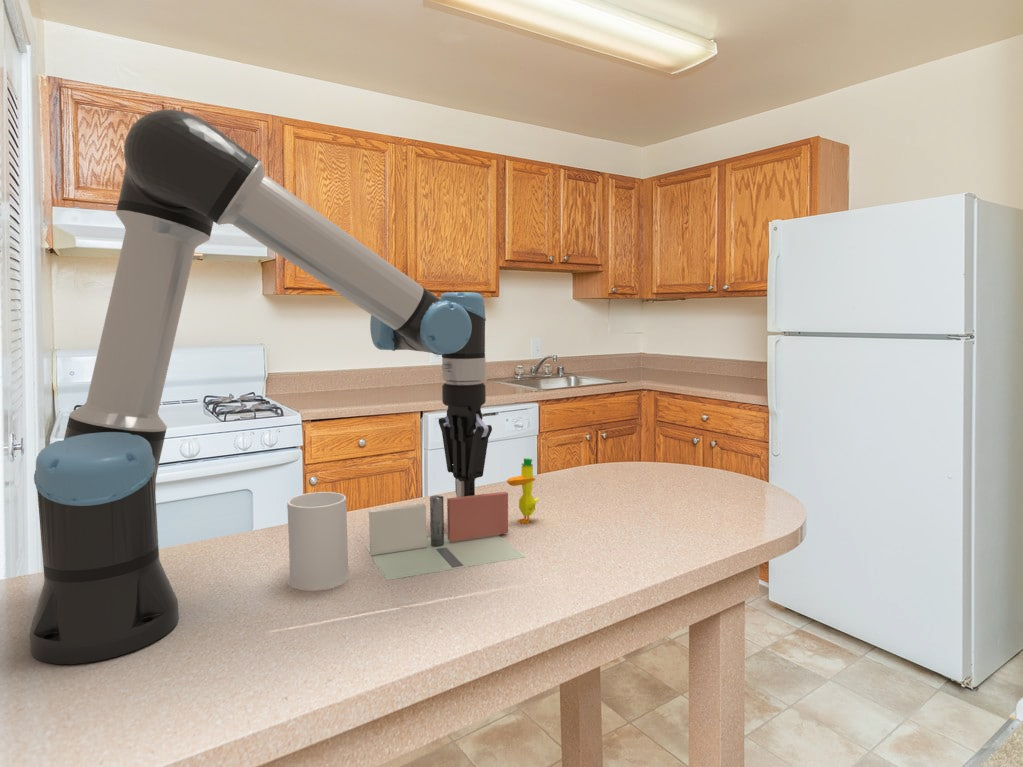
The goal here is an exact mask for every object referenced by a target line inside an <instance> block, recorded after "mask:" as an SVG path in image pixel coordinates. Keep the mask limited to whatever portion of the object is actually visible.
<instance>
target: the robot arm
mask: <svg viewBox="0 0 1023 767" xmlns="http://www.w3.org/2000/svg"><path fill="white" fill-rule="evenodd" d="M123 150H124V151H123V155H124V162H125V171H124V176H123V180H122V183H121V189H120V193H119V198H118V202H117V207H116V211H115V215H116V216H117V217H118V219H119V220H120V223H121V224H122V225H123V226H124V229H125V232H124V237H123V239H122V245H121V250H120V254H119V259H118V262H117V267H116V269H115V270H116V271H115V275H114V279H113V285H112V288H111V293H110V297H109V302H108V307H107V310H106V315H105V319H104V323H103V327H102V332H101V337H100V340H99V345H98V350H97V355H96V359H95V362H94V367H93V371H92V377H91V381H90V385H89V390H88V394H87V398H86V402H85V403H84V404H82V405H81V406H79V407H78V408H75V409H74V410H73V411H71V412H70V413H69V417H68V420H67V423H66V424H67V425H66V429H65V433H64V437H63V440H56V441H53V442H52V443H50V444H48V445H46V446H45V447H44V448H42V449H41V450H40V451H39V452H38V455H37V456H36V460H35V471H34V474H33V481H34V482H33V483H34V484H35V488H36V493H37V503H38V504H37V505H38V514H39V516H38V518H39V519H38V520H39V527H40V529H39V530H40V540H41V541H40V542H41V553H42V554H41V556H42V565H43V579H44V581H43V586H42V589H41V593H40V595H39V599H38V602H37V605H36V609H35V613H34V616H33V619H32V622H31V625H30V629H29V644H30V645H29V646H30V653H31V655H32V656H33V658H35V659H37V660H39V661H41V662H45V663H48V664H56V665H73V664H85V663H92V662H98V661H103V660H107V659H112V658H116V657H120V656H123V655H125V654H128V653H131V652H134V651H137V650H139V649H142V648H144V647H147V646H150V645H151V644H153V643H154V642H157V641H158V640H160V639H162V638H163V637H165V636H166V635H167V634H169V633H170V632H172V630H173V629H174V628H175V627H176V625H177V624H178V622H179V617H180V616H179V615H180V614H179V613H180V612H179V601H178V597H177V595H176V594H175V590H174V589H173V587H172V585H171V582H170V581H169V578H168V576H167V573H166V572H165V570H164V567H163V565H162V563H161V560H160V552H159V551H160V549H159V533H158V517H157V516H158V514H157V502H156V501H157V498H156V497H157V495H156V492H157V491H156V488H157V487H156V485H157V484H156V481H157V480H156V479H157V476H158V470H159V465H160V460H161V455H162V451H163V446H164V442H165V438H166V432H167V430H168V428H167V427H168V426H167V425H166V423H165V422H164V421H163V420H162V418H161V417H160V416H159V411H160V410H159V409H160V405H161V400H162V397H163V392H164V388H165V382H166V379H167V373H168V371H169V367H170V366H169V365H170V362H171V361H170V360H171V358H172V357H171V356H172V352H173V348H174V343H175V338H176V335H177V334H176V333H177V330H178V326H179V322H180V317H181V314H182V308H183V305H184V304H183V303H184V299H185V296H186V291H187V286H188V281H189V277H190V272H191V268H192V265H193V264H192V263H193V261H194V255H195V251H196V249H197V248H198V247H199V246H201V245H203V244H204V243H207V242H208V241H210V239H211V235H212V230H213V226H214V223H215V224H216V225H219V226H221V225H227V224H228V225H230V224H231V225H233V226H235V227H236V228H237V229H239V230H240V231H242V232H244V234H247V235H248V236H250V237H251V238H253V239H254V240H255V241H258V242H259V243H261V244H262V245H264V246H265V247H266V248H268V249H269V250H271V251H273V252H274V253H276V254H278V255H279V256H280V257H282V258H284V259H285V260H287V261H288V262H289V263H291V264H293V265H294V266H295V267H297V268H299V269H301V270H302V271H303V272H305V273H307V274H308V275H309V276H311V277H313V278H314V279H315V280H316V281H318V282H320V283H322V284H323V285H325V287H328V288H330V289H331V290H332V291H333V292H336V293H337V294H339V295H340V296H342V297H343V298H345V299H346V300H348V301H349V302H351V303H353V304H354V305H355V306H357V307H358V308H360V309H362V310H363V311H365V312H366V313H368V314H369V315H370V324H369V326H370V327H369V328H370V337H371V341H372V343H373V345H374V347H375V348H376V349H377V350H381V351H393V352H395V351H400V350H402V351H404V350H405V351H414V352H424V353H430V354H433V355H437V356H441V359H442V361H441V362H442V364H441V368H442V369H441V371H442V373H441V374H442V378H441V379H442V380H443V381H445V382H444V383H443V384H442V387H441V388H442V390H441V391H442V392H441V393H442V394H441V396H442V398H441V400H442V401H441V402H442V404H443V405H444V406H447V409H446V415H445V416H444V417H441V418H439V419H438V425H439V427H440V431H441V437H442V441H443V442H442V444H443V449H444V456H445V457H444V458H445V461H446V462H445V463H446V470H447V472H448V473H451V474H453V477H454V479H455V481H454V482H455V495H456V497H464V496H472V495H476V494H475V493H476V490H475V488H476V484H475V483H476V482H475V481H476V479H478V478H482V477H483V476H484V471H485V465H486V464H485V463H486V457H487V449H488V445H489V438H490V435H491V433H492V431H493V428H492V425H491V424H488V425H487V424H486V423H485V422H484V421H483V413H482V406H483V405H484V404H486V401H487V398H486V389H487V388H486V384H485V383H484V382H483V381H485V380H486V378H487V377H486V375H487V374H486V373H487V372H486V371H487V368H486V366H487V365H486V321H487V317H486V308H485V299H484V297H483V295H482V294H481V293H478V292H470V291H469V292H468V291H467V292H464V291H463V292H444V293H442V294H441V296H440V297H438V296H436V295H435V294H434V293H432V292H431V291H430V290H428V289H426V288H425V287H424V286H422V285H421V284H419V283H418V282H416V281H415V280H414V279H412V277H411V278H410V276H408V275H407V274H405V273H404V272H402V271H401V270H399V268H396V266H394V265H393V264H392V263H390V262H388V261H387V260H386V259H384V258H383V257H381V256H380V255H379V254H378V253H376V252H374V251H373V250H371V249H370V248H369V247H367V246H366V245H364V243H362V242H360V241H359V240H357V238H355V237H354V236H352V235H351V234H349V233H348V232H346V231H345V230H344V229H342V228H341V227H340V226H338V225H337V224H335V223H334V222H332V221H331V220H330V219H328V218H327V217H326V216H324V215H323V214H321V213H320V212H318V211H317V210H316V209H314V208H313V207H311V205H309V204H307V203H306V202H305V201H303V200H302V199H301V198H299V197H298V196H296V195H295V194H294V193H292V192H290V191H289V190H288V189H287V188H285V187H283V186H282V185H281V184H279V183H277V181H275V180H274V179H272V178H271V177H269V176H268V174H266V173H265V170H264V167H263V163H262V161H261V160H260V159H258V158H257V157H256V156H255V155H253V154H252V153H250V152H249V151H248V150H246V149H245V148H243V147H242V146H241V145H239V144H238V143H236V141H234V140H233V139H231V138H230V137H229V136H227V135H226V134H224V133H223V132H222V131H220V130H219V129H218V128H216V127H214V126H213V125H212V124H210V123H209V122H207V120H205V119H202V118H200V117H198V116H197V115H194V114H192V113H189V112H186V111H184V110H176V109H161V110H154V111H151V112H149V113H147V114H145V115H143V116H142V117H140V118H139V119H138V120H136V122H134V124H133V125H132V126H131V127H130V128H129V131H128V132H127V135H126V137H125V141H124V147H123ZM456 497H455V498H456Z"/></svg>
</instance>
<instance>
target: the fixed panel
mask: <svg viewBox="0 0 1023 767" xmlns="http://www.w3.org/2000/svg"><path fill="white" fill-rule="evenodd" d="M368 522H369V523H368V524H369V526H368V528H369V529H368V531H369V534H368V535H369V546H370V553H369V554H370V556H371V557H372V555H378V554H385V553H392V552H398V551H405V550H412V549H418V548H425V547H427V505H426V504H425V503H418V504H411V505H402V506H395V507H386V508H385V507H384V508H378V509H377V508H376V509H370V510H368Z"/></svg>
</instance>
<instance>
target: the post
mask: <svg viewBox="0 0 1023 767" xmlns="http://www.w3.org/2000/svg"><path fill="white" fill-rule="evenodd" d="M444 509H445V508H444V496H443V495H438V494H437V495H432V496H430V497H429V514H430V515H429V516H430V517H429V518H430V519H429V520H430V522H429V523H430V527H429V528H430V529H429V530H430V532H429V533H430V537H431V546H433V547H440V546H443V545H444V535H445V521H444V520H445V519H444V518H445V517H444V512H445V511H444Z"/></svg>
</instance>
